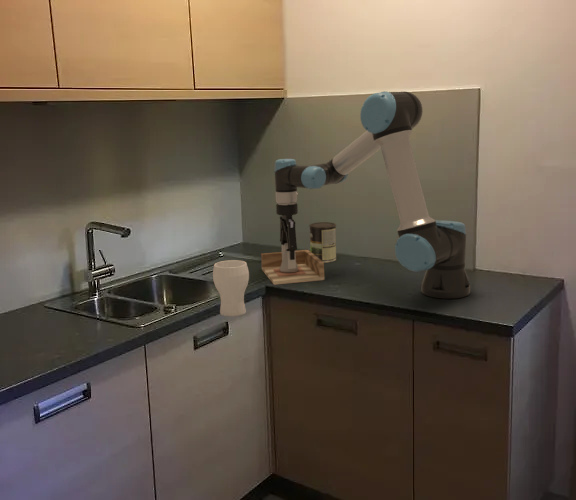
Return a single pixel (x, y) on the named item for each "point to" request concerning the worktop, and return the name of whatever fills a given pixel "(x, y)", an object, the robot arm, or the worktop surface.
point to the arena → (308, 271)
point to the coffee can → (323, 241)
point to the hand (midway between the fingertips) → (289, 265)
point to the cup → (231, 286)
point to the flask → (285, 263)
